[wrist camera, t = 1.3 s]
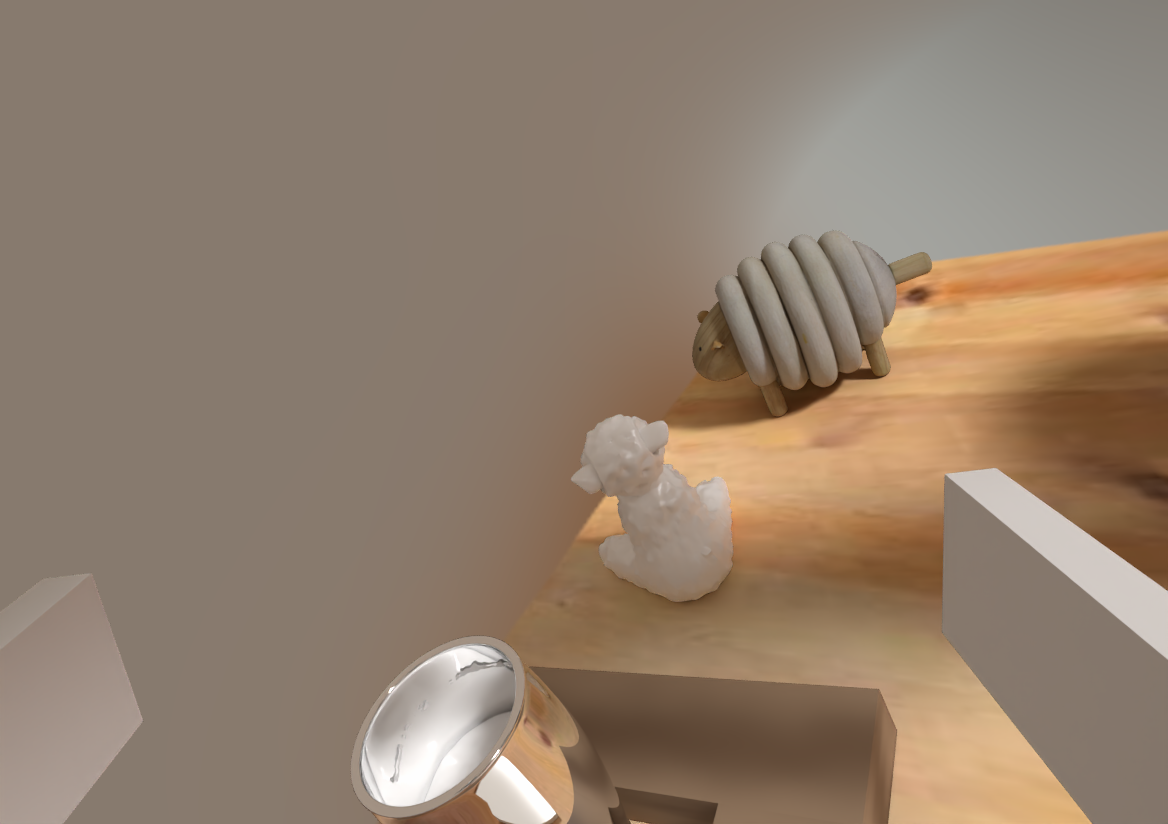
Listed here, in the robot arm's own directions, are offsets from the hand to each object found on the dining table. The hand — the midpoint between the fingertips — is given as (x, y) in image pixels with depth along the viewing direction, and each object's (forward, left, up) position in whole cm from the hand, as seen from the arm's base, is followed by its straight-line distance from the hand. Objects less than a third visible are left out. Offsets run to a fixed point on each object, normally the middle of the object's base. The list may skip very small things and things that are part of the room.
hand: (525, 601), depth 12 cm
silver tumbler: (-3, -12, -25) cm, 28 cm away
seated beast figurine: (-23, -15, -25) cm, 37 cm away
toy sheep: (-40, -9, -25) cm, 48 cm away
